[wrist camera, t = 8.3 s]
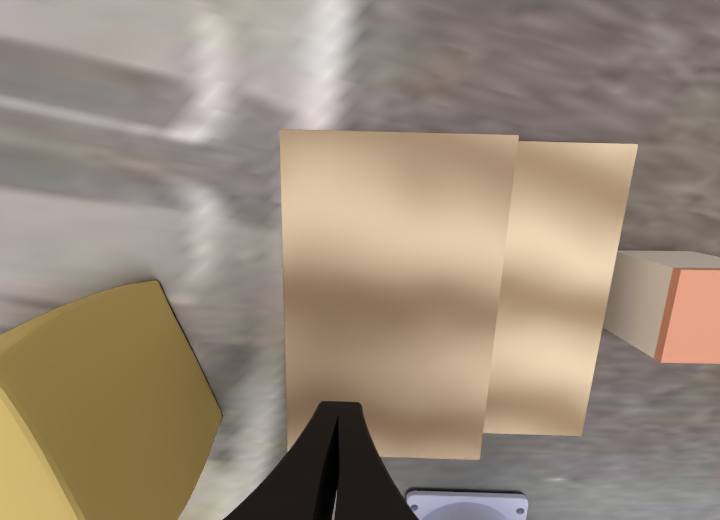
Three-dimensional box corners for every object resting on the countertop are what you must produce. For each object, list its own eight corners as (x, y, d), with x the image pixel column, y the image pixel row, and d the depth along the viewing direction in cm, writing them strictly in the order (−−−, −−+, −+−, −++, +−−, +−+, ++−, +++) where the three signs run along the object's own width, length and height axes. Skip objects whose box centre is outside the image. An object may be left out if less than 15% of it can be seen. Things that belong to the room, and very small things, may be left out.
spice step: (562, 413, 22) (605, 463, 18) (301, 405, 22) (287, 454, 18) (608, 148, 18) (675, 139, 14) (297, 140, 18) (279, 129, 14)
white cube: (660, 362, 16) (597, 324, 21) (757, 363, 16) (673, 325, 21) (681, 269, 15) (610, 250, 20) (784, 270, 15) (690, 251, 20)
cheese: (93, 461, 23) (-104, 665, 13) (8, 319, 21) (-302, 438, 11) (235, 419, 22) (136, 604, 13) (163, 266, 20) (-27, 345, 10)
